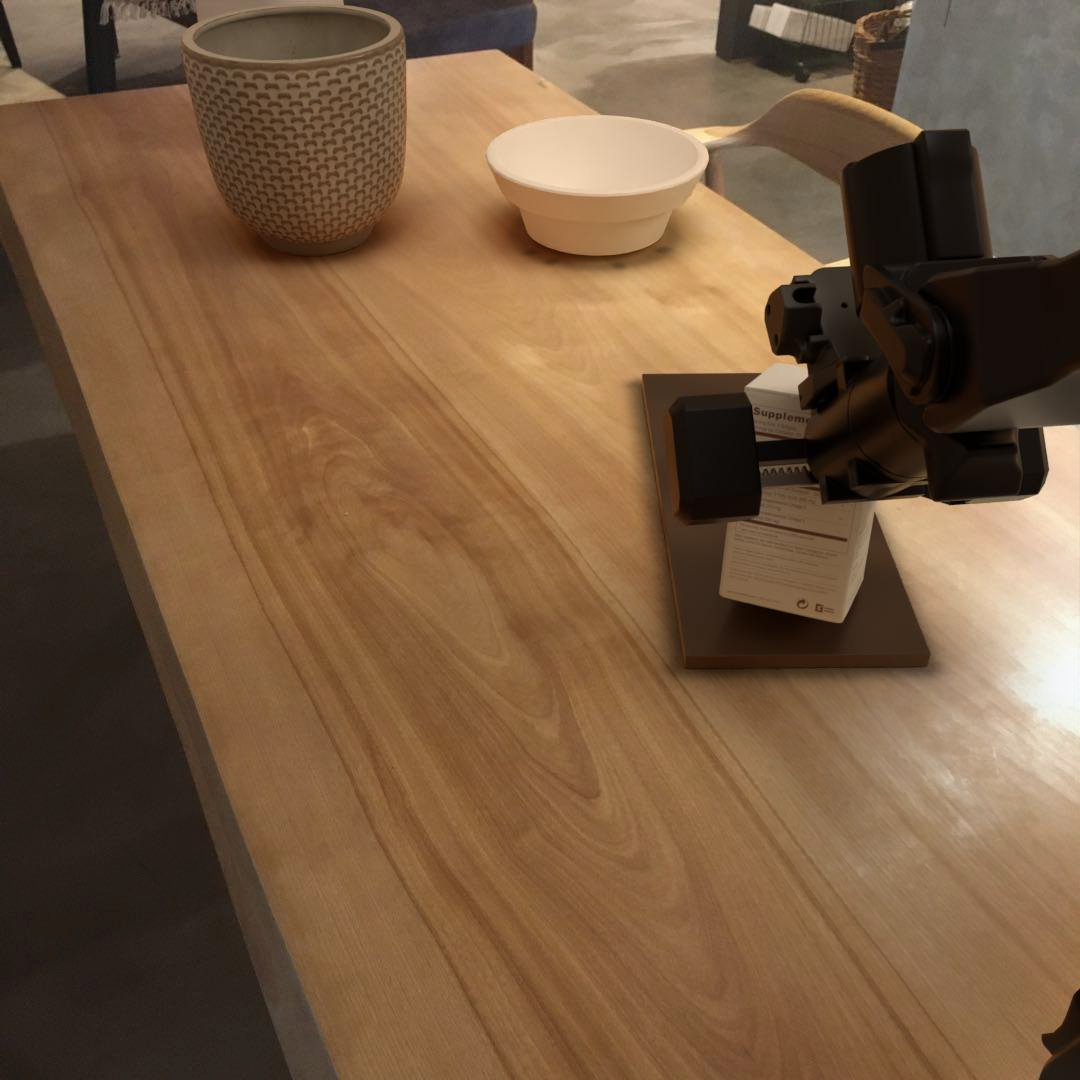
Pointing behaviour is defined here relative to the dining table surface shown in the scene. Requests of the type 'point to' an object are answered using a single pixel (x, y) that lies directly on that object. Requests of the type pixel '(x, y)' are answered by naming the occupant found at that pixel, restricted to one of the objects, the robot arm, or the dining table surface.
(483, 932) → the dining table surface
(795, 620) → the board
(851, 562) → the white packaging box
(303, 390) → the dining table surface
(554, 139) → the bowl
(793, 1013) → the dining table surface
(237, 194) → the planter
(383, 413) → the dining table surface
